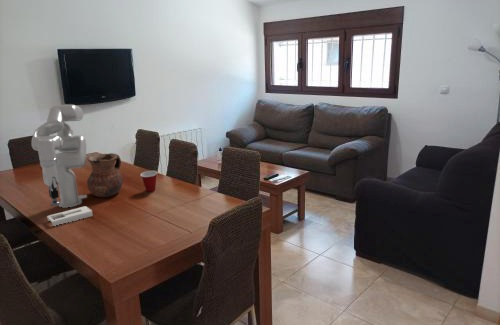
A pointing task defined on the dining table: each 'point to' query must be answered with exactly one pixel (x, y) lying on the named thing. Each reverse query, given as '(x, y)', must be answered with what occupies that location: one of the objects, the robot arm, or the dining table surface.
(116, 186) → the jug
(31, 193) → the dining table surface
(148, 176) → the plastic cup
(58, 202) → the peg
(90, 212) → the keyhole plate
